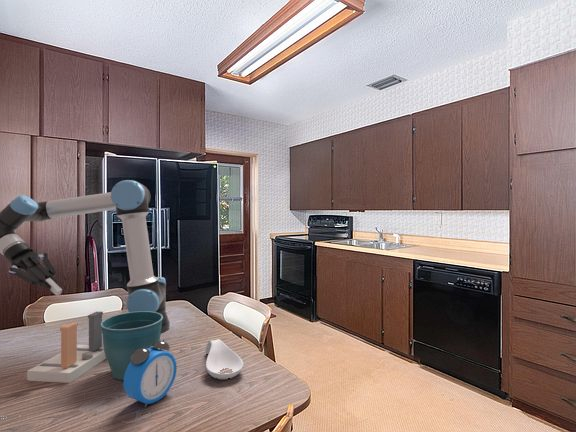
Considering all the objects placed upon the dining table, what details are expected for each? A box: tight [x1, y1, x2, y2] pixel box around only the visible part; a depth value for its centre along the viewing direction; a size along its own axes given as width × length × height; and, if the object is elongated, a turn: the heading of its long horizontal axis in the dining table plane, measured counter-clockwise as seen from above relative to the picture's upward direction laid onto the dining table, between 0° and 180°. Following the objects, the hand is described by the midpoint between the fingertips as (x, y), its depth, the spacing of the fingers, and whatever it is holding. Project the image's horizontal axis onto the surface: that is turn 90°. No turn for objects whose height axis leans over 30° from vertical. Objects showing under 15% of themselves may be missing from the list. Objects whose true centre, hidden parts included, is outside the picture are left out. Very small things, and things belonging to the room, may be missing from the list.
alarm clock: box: [122, 339, 178, 408], centre depth 89 cm, size 13×6×15 cm, turn 152°
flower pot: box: [101, 311, 163, 381], centre depth 104 cm, size 18×18×17 cm
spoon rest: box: [204, 338, 244, 380], centre depth 108 cm, size 24×12×7 cm, turn 28°
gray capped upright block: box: [87, 311, 104, 351], centre depth 113 cm, size 2×4×12 cm, turn 175°
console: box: [26, 344, 107, 384], centre depth 108 cm, size 14×20×4 cm
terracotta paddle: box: [59, 322, 79, 368], centre depth 101 cm, size 2×4×12 cm, turn 175°
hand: (59, 292), depth 116 cm, fingers closed
